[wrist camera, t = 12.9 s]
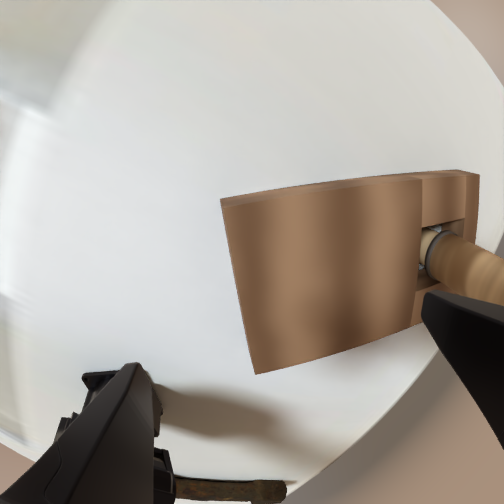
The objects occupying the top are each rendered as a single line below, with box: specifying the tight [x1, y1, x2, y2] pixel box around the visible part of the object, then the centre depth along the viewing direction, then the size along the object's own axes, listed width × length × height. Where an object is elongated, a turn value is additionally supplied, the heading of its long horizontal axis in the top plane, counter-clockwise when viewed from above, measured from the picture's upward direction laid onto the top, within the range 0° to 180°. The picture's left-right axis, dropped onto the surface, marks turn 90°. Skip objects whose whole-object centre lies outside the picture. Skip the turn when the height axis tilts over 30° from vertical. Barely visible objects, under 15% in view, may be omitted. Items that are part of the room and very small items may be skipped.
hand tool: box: [175, 478, 287, 504], centre depth 31 cm, size 19×4×5 cm, turn 69°
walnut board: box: [220, 170, 480, 375], centre depth 21 cm, size 22×13×3 cm, turn 98°
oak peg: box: [419, 227, 504, 306], centre depth 17 cm, size 4×4×12 cm
